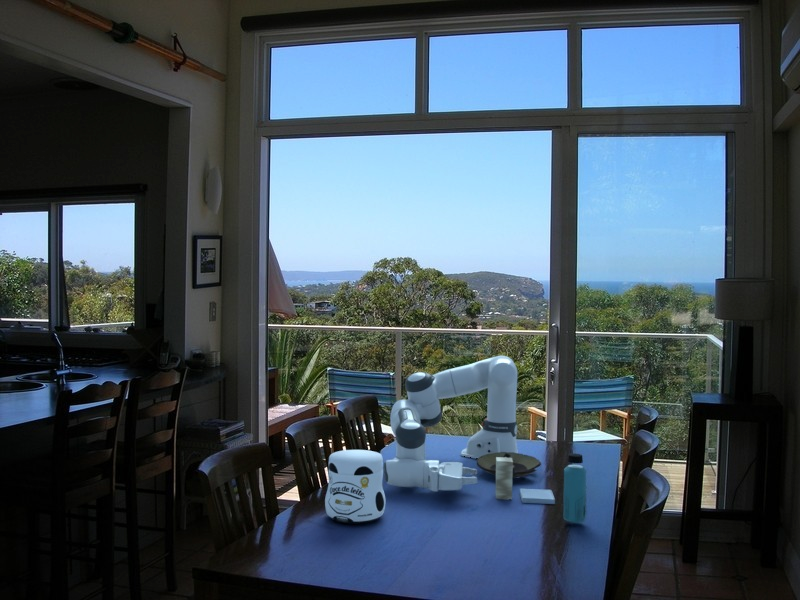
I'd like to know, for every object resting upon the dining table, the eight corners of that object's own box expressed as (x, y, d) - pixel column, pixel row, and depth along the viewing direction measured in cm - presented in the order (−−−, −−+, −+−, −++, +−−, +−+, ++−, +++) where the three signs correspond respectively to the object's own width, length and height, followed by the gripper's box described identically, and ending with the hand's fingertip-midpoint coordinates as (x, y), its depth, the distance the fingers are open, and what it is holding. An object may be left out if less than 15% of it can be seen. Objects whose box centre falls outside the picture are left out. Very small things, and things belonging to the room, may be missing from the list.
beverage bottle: (586, 529, 201) (588, 457, 200) (562, 527, 202) (564, 456, 201) (585, 521, 207) (587, 452, 206) (561, 519, 208) (563, 450, 208)
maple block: (495, 498, 227) (496, 461, 227) (495, 494, 232) (496, 457, 232) (511, 499, 226) (512, 461, 226) (511, 494, 231) (511, 457, 231)
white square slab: (522, 502, 223) (522, 497, 223) (519, 493, 233) (519, 488, 233) (554, 504, 222) (554, 499, 222) (551, 494, 232) (551, 489, 232)
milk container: (330, 530, 196) (331, 465, 195) (320, 510, 213) (321, 450, 212) (391, 526, 201) (392, 461, 200) (377, 506, 217) (378, 447, 217)
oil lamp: (548, 471, 261) (549, 450, 261) (521, 492, 235) (522, 468, 235) (490, 462, 272) (491, 442, 272) (459, 481, 246) (459, 459, 245)
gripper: (435, 475, 241) (476, 477, 240) (431, 493, 221) (477, 495, 220) (435, 456, 241) (477, 458, 240) (432, 472, 221) (477, 474, 219)
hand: (477, 476), depth 229 cm, fingers open, 8 cm apart
